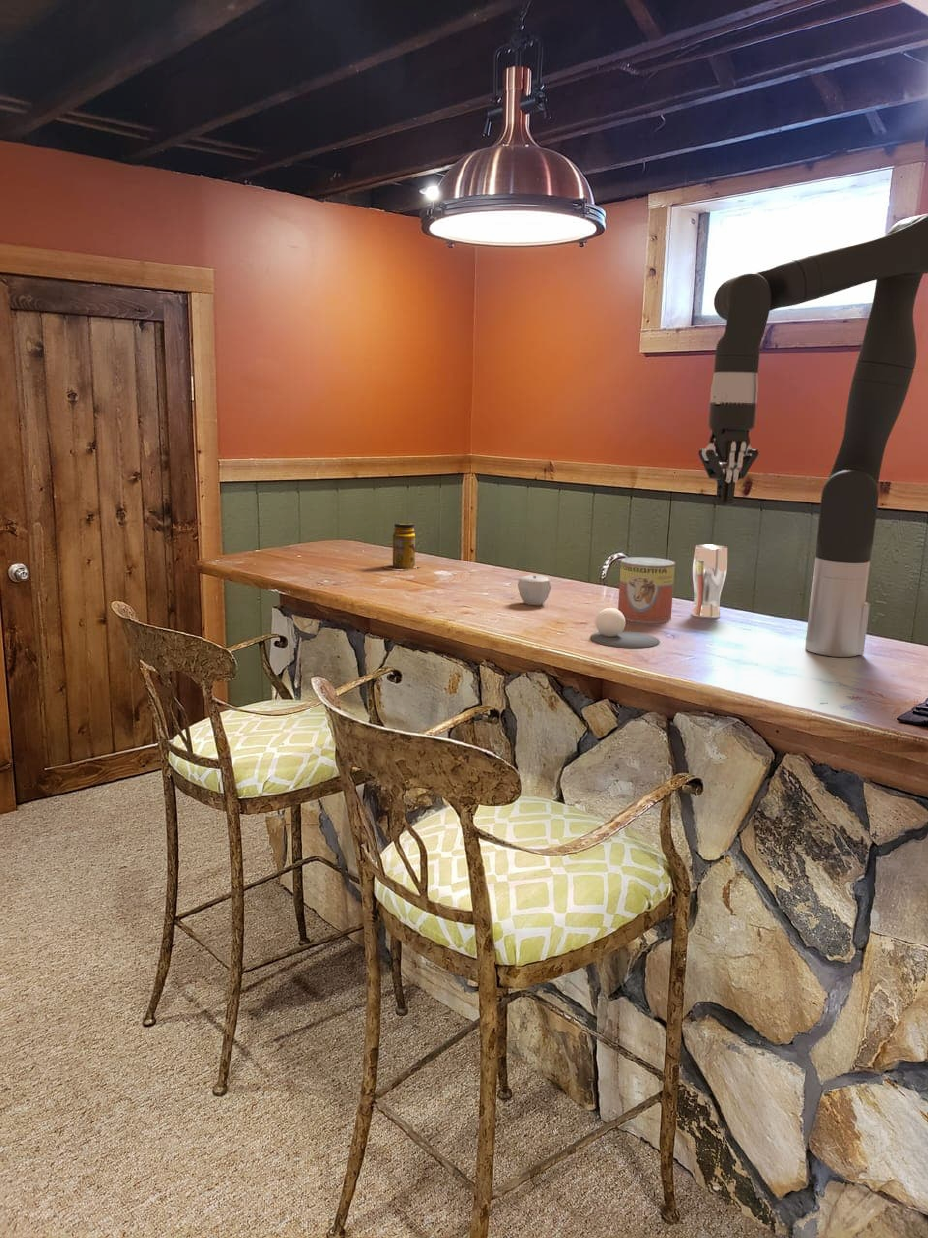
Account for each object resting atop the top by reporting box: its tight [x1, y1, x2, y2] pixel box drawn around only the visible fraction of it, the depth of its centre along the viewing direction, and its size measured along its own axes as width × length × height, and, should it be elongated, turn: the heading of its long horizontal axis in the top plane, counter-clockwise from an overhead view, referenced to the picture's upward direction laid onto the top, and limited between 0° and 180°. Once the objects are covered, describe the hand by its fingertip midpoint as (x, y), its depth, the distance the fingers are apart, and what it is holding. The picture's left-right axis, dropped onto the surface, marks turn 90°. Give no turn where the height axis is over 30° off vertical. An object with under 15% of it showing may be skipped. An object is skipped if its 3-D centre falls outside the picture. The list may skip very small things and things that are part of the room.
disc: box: [589, 630, 661, 649], centre depth 173 cm, size 13×13×1 cm
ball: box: [595, 607, 626, 637], centre depth 175 cm, size 6×6×6 cm
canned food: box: [617, 556, 676, 623], centre depth 193 cm, size 11×11×12 cm
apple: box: [517, 574, 552, 606], centre depth 204 cm, size 8×8×7 cm
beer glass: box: [690, 543, 728, 620], centre depth 195 cm, size 7×7×15 cm
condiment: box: [380, 522, 416, 571], centre depth 247 cm, size 7×8×12 cm
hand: (724, 504), depth 157 cm, fingers closed
